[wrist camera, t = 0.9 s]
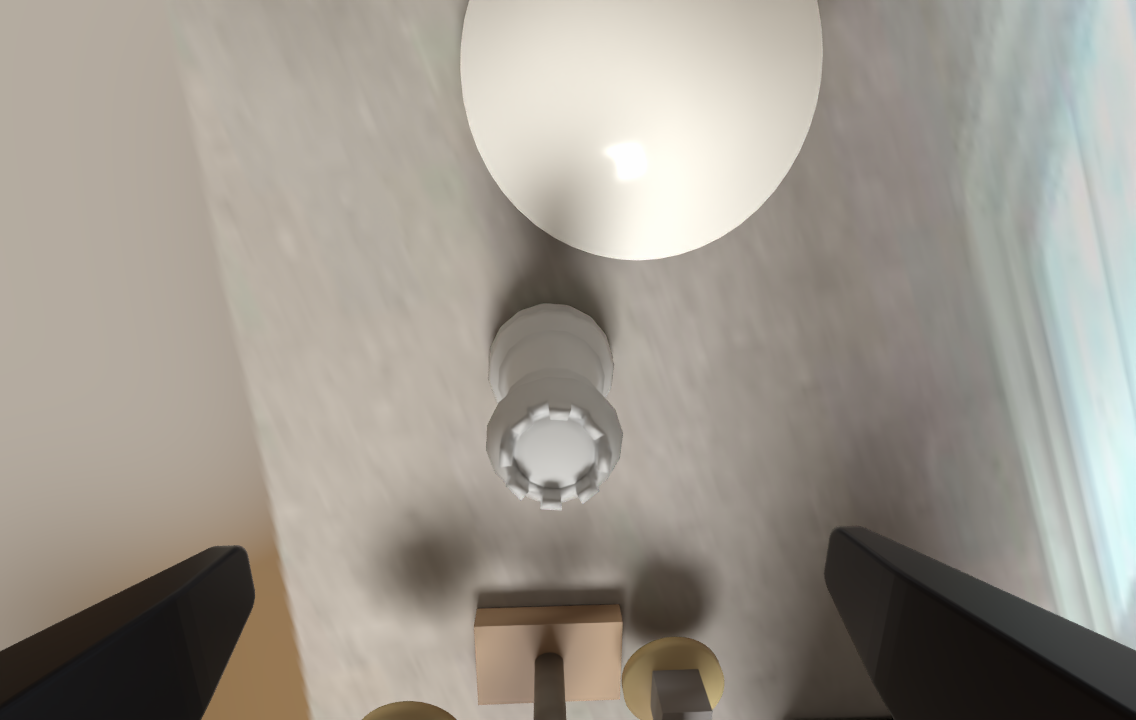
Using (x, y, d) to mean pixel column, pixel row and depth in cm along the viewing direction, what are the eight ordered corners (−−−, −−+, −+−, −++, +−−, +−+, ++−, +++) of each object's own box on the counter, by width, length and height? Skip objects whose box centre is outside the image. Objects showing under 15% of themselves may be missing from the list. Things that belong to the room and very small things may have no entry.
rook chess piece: (476, 401, 20) (433, 523, 12) (506, 285, 18) (480, 339, 11) (591, 429, 20) (620, 565, 12) (626, 319, 19) (683, 392, 11)
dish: (828, -119, 16) (847, -141, 15) (786, 257, 19) (799, 260, 18) (455, -131, 15) (449, -154, 14) (473, 257, 18) (469, 260, 17)
